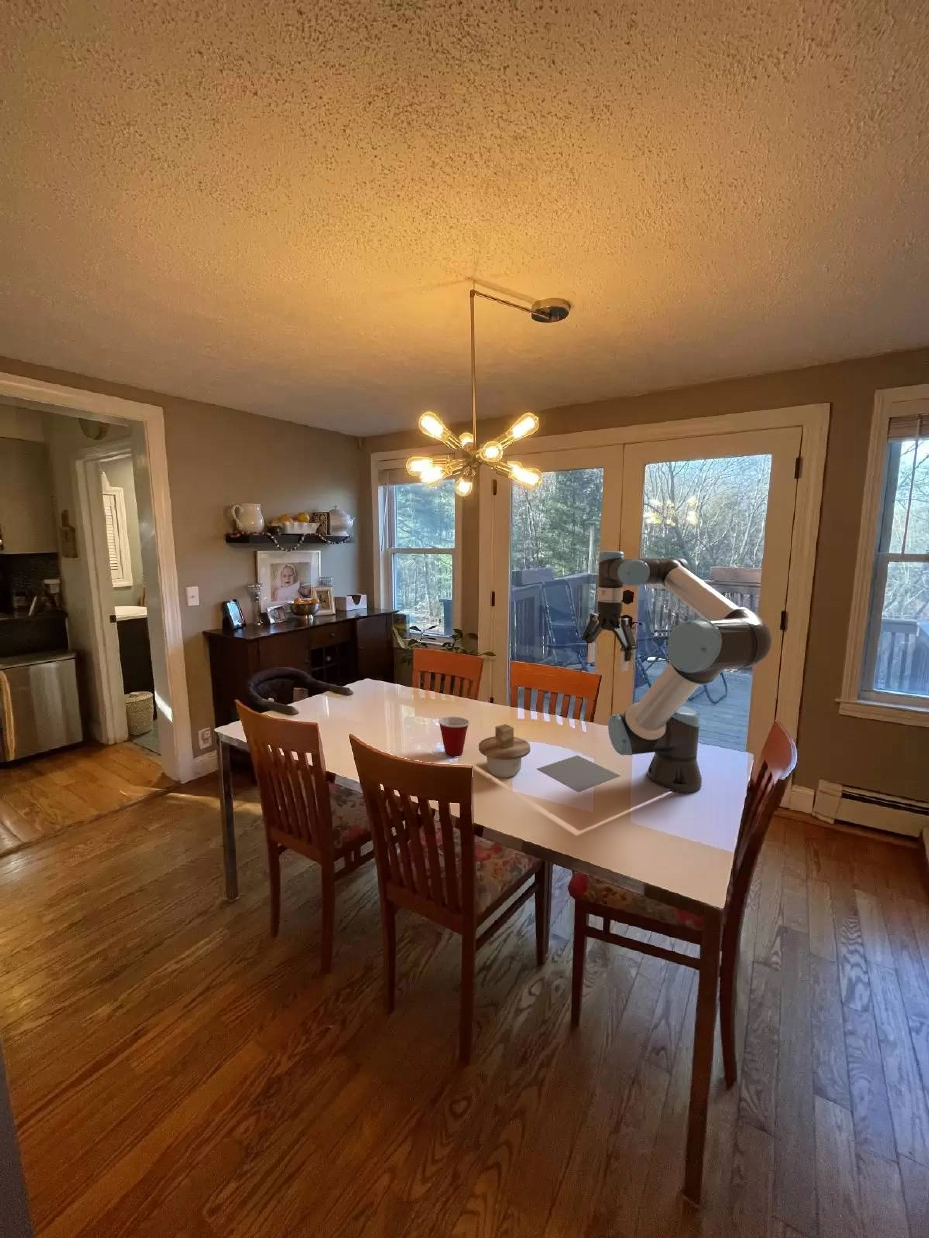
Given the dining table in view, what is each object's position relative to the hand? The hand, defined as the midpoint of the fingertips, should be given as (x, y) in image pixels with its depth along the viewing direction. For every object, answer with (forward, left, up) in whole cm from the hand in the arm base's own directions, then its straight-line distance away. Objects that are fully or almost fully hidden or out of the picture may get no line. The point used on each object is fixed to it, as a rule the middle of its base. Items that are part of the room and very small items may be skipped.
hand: (607, 666), depth 165 cm
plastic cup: (+32, +38, -32) cm, 59 cm away
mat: (-3, +15, -32) cm, 35 cm away
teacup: (+12, +32, -32) cm, 47 cm away
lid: (+11, +33, -24) cm, 42 cm away
